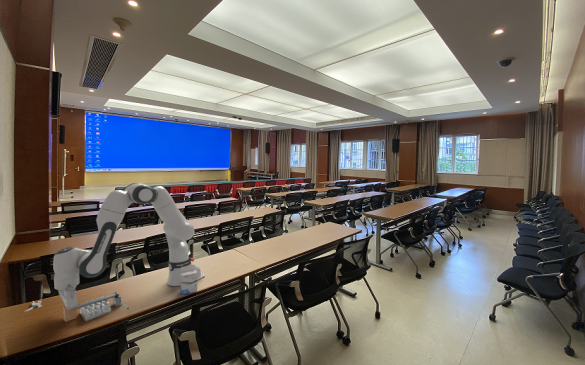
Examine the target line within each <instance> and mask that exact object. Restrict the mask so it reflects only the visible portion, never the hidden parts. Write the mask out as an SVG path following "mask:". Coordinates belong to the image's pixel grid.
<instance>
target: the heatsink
mask: <svg viewBox="0 0 585 365" xmlns="http://www.w3.org/2000/svg"><path fill="white" fill-rule="evenodd" d="M101 297H104V296H103V295H102V296H101ZM98 298H99V297H97V298H95V299H98ZM92 300H93V299H91V300H90V301H92ZM121 300H122V296H121V295H120V294H119V297H117V296H116V297H113V298H112V305H113V306H114V307H115V308H117V307H119V306H122V303H121ZM88 301H89V300H87V301H86V302H88ZM82 303H83V302H82ZM82 303H80V304H82ZM111 312H112V308H111V307H110V302H109V301H108V299H107V300H104V301H100V302H97V303H94V304H91V305H88V306H85V307H81V308H80V309H79V314H80V316H81V317H82V319H83V320H84V321H85V322H88V321H91V320H93V319H95V318H99V317H101V316H103V315H106V314H108V313H111Z"/></svg>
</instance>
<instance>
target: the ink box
mask: <svg viewBox="0 0 585 365" xmlns="http://www.w3.org/2000/svg"><path fill="white" fill-rule="evenodd" d="M195 265H196V264H195ZM195 265H190V266H185V267H181V286H180V294H181V295H187V294H192V293H196V291H197V292H198V280H197V271H196V270H195ZM188 267H189V268H190V267H191V268H190V269H186V268H188Z"/></svg>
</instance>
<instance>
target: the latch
mask: <svg viewBox="0 0 585 365" xmlns="http://www.w3.org/2000/svg"><path fill="white" fill-rule="evenodd" d="M74 308H76V307H73V308H70V309H67V307H66V306H65V305H63V320H64V322H65V323H68V322H70V321H72V320H75V319H77V318H78V317H77V309H75V310H72V311H70V310H71V309H74Z"/></svg>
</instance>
